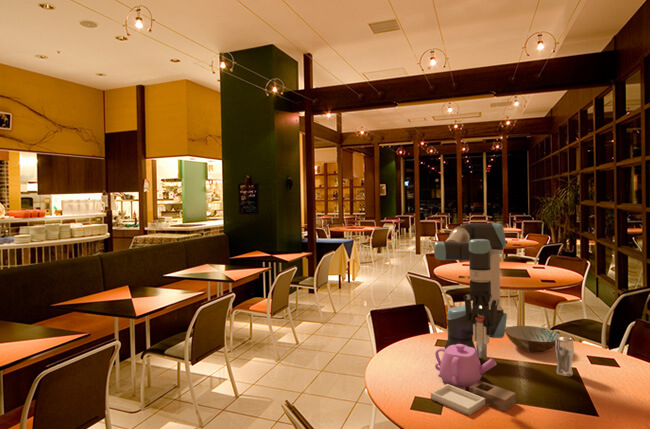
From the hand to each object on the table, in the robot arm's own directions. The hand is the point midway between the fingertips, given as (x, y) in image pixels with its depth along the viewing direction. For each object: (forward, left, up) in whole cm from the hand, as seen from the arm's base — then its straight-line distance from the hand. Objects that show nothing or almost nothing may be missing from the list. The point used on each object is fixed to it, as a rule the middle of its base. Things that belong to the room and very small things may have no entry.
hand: (481, 341), depth 152 cm
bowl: (-10, +65, -22) cm, 69 cm away
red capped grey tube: (0, 0, -6) cm, 6 cm away
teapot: (-14, +10, -22) cm, 28 cm away
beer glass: (+12, +45, -22) cm, 52 cm away
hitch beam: (+3, +1, -22) cm, 22 cm away
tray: (-5, -9, -22) cm, 24 cm away
